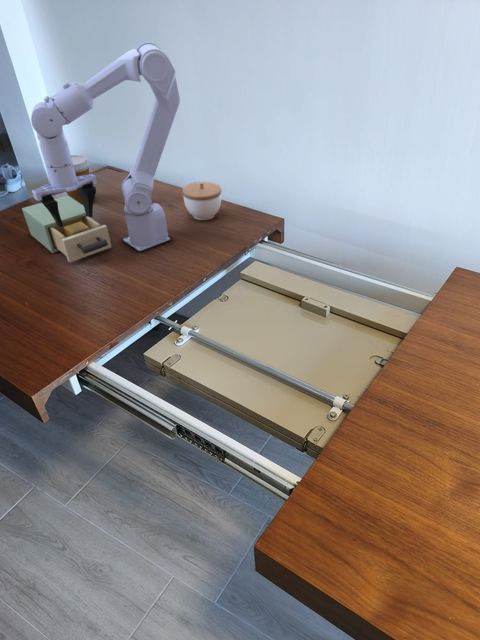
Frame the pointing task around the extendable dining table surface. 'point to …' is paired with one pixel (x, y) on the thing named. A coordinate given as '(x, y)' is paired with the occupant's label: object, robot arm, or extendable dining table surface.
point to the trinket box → (202, 199)
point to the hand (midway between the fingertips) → (75, 220)
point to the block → (75, 229)
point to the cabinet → (51, 218)
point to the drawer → (80, 239)
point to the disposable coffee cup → (79, 174)
